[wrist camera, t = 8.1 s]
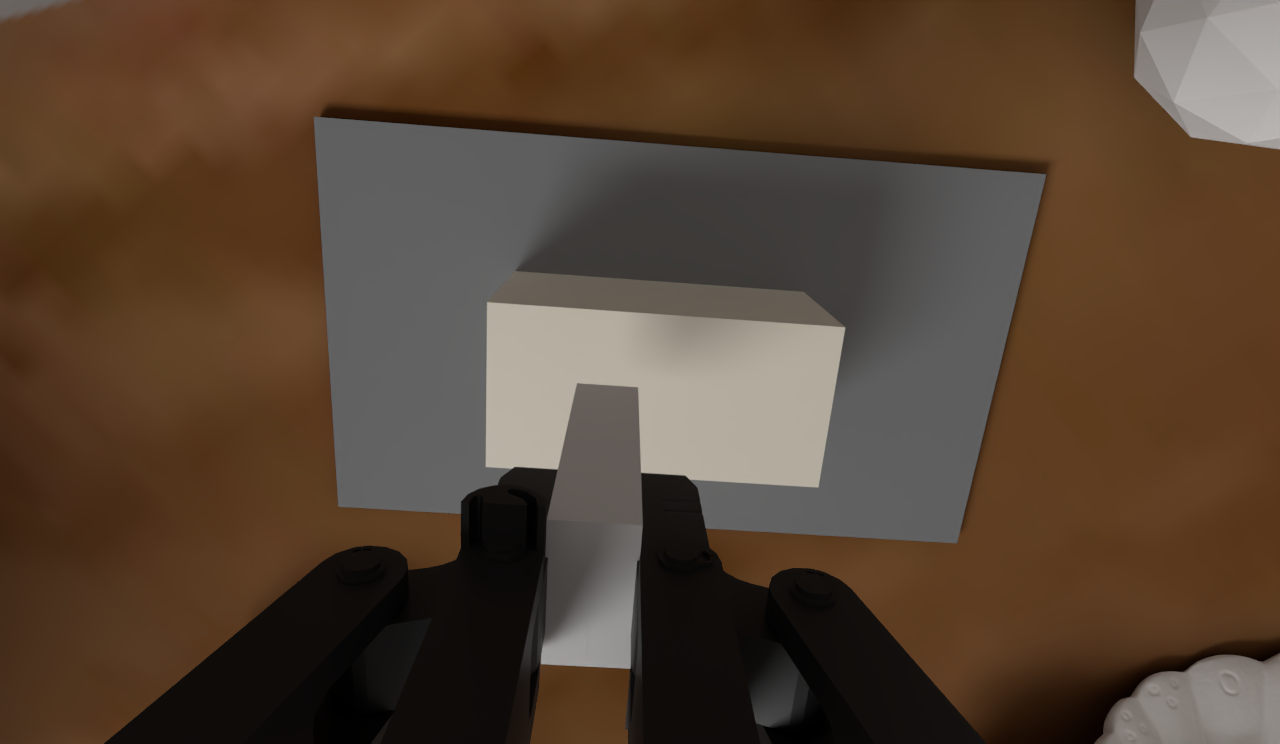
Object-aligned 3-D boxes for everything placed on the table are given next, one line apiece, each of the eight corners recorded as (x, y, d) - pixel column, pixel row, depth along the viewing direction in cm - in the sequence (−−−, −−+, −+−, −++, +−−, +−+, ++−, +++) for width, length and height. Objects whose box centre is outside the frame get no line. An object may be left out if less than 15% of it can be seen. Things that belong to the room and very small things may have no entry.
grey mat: (342, 501, 27) (338, 506, 27) (319, 117, 23) (313, 116, 23) (952, 537, 28) (957, 543, 28) (1039, 174, 24) (1046, 174, 23)
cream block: (485, 466, 21) (820, 487, 21) (487, 302, 19) (847, 327, 20) (512, 407, 26) (785, 425, 26) (515, 271, 24) (805, 291, 25)
